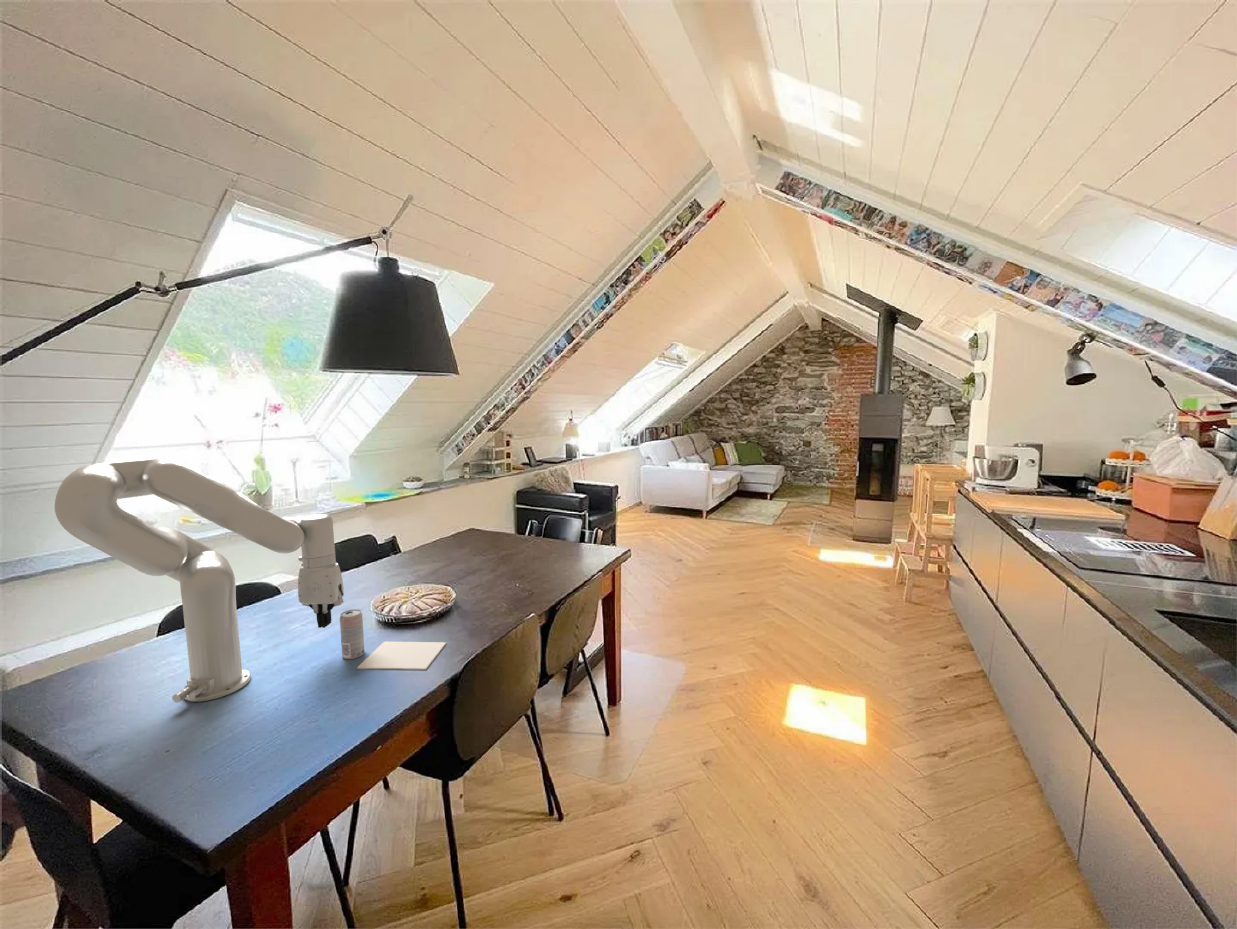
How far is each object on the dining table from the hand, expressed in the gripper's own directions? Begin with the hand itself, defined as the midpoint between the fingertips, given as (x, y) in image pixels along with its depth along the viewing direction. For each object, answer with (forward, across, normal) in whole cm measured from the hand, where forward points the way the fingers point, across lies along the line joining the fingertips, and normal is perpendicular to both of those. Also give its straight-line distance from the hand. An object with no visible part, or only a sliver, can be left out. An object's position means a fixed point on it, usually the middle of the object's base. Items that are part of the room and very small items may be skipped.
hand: (324, 625), depth 131 cm
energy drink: (+9, +8, 0) cm, 11 cm away
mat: (+8, +22, 0) cm, 23 cm away
